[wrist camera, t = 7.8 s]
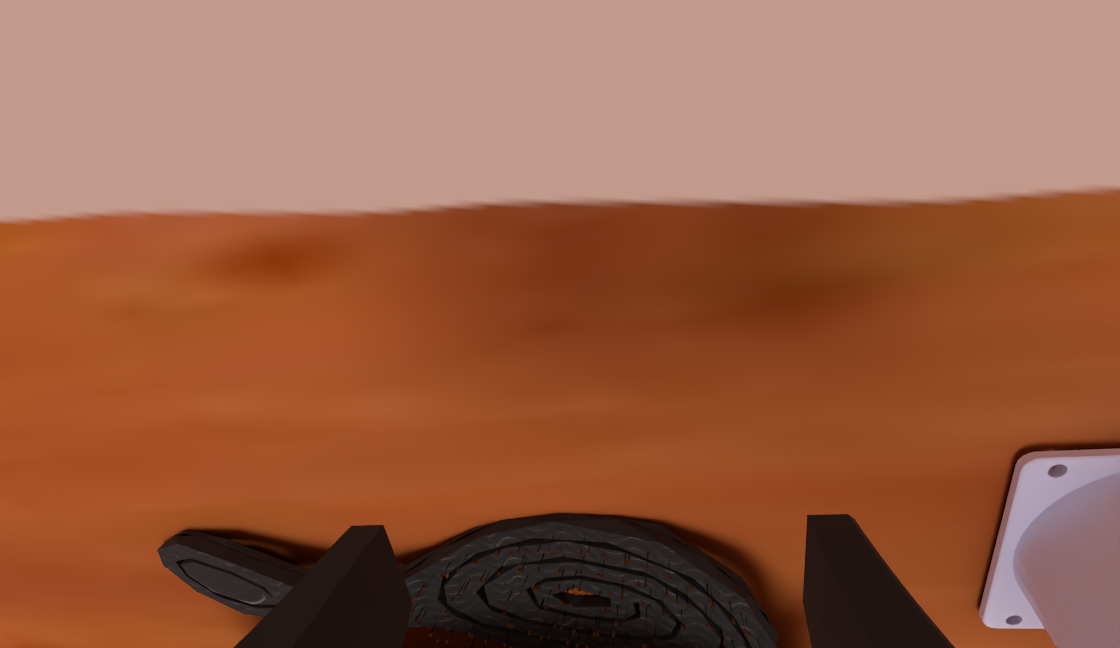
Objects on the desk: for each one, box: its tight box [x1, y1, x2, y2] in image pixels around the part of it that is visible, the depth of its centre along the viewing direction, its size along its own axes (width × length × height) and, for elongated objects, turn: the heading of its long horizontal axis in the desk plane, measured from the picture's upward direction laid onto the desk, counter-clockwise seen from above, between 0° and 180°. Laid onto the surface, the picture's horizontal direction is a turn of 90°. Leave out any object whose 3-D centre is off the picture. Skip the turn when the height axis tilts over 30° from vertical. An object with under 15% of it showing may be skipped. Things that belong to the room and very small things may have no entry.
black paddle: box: [158, 513, 779, 648], centre depth 25 cm, size 8×4×25 cm
